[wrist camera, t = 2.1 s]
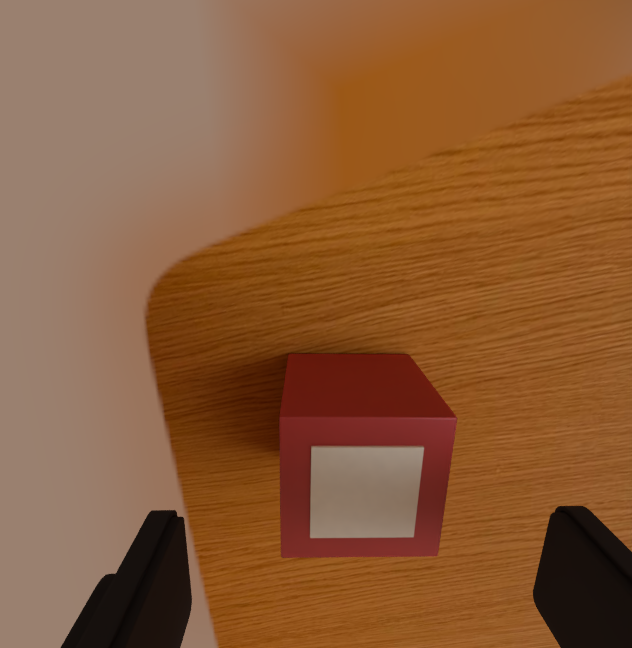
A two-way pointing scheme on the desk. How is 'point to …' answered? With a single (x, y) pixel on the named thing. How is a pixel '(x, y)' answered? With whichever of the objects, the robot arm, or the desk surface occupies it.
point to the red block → (362, 457)
